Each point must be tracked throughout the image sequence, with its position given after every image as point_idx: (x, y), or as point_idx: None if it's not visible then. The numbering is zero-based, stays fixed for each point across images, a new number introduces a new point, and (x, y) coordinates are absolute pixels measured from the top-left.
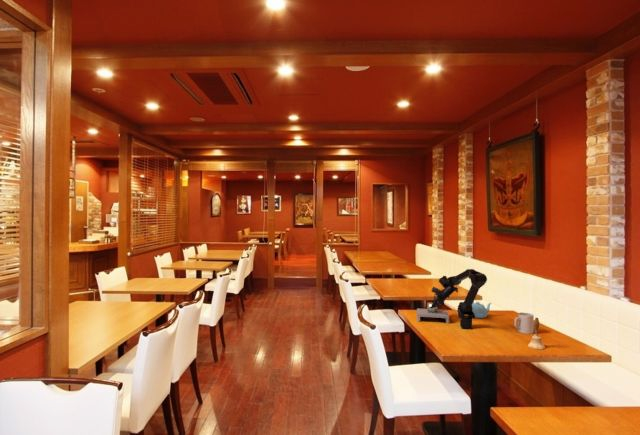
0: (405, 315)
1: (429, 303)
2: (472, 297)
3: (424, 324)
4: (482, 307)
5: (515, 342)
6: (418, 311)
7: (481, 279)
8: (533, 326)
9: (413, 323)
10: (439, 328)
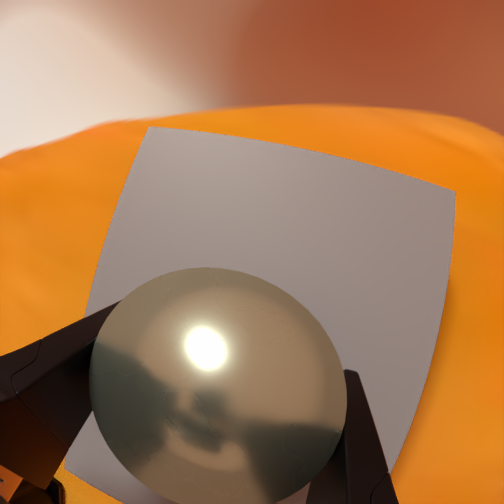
0: (399, 112)
1: (220, 327)
2: None
3: (91, 207)
4: None
5: None
6: (283, 158)
7: None
8: None
9: (132, 124)
10: (8, 295)
